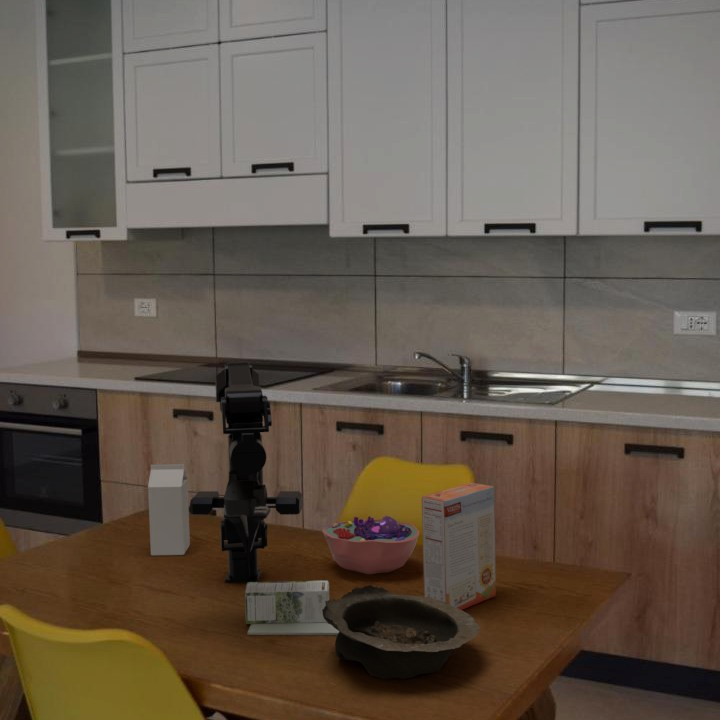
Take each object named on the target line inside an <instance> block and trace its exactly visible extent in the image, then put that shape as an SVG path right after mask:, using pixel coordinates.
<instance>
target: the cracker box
mask: <svg viewBox="0 0 720 720" xmlns="http://www.w3.org/2000/svg"><path fill="white" fill-rule="evenodd" d="M495 523H496V522H495V487H494V486H493V485H488V484H482V483H478V482H474V481H473V482H468V483H464V484H461V485H458V486H457V485H456V486H453V487H449V488H447V489H446V488H445V489H443V490H440V491H439V490H438V491H435V492H432V493H428V494H425V495H422V496H421V525H422V532H421V533H422V556H423V557H422V558H423V560H422V564H423V565H422V567H423V595H424V596H423V597H429V598H433V599H436V600H439V601H442V602H446V603H448V604H450V605H451V606H453V607H455V608H458V609H460V610H462V611H464V610H465V609H467V608H469V607H472V606H474V605H477V604H479V603H482V602H484V601H487V600H489V599H491V598H494V597H496V596H497V594H496V590H497V588H496V586H497V585H496V582H497V581H496V540H495V537H496V534H495V532H496V531H495V527H496V525H495Z"/></svg>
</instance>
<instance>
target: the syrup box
mask: <svg viewBox="0 0 720 720" xmlns="http://www.w3.org/2000/svg"><path fill="white" fill-rule="evenodd" d="M244 599H245V600H244V604H245V606H244V607H245V609H244V611H245V623H246V624H247V625H251V624H267V623H321V622H327V621H326V620H325V619H324V617H323V612H322V609H324V607H325V606H326V603H325V601H328V600H330V581H329V580H295V581H294V580H293V581H291V580H289V581H288V580H287V581H257V582H246V587H245V593H244Z"/></svg>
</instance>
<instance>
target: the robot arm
mask: <svg viewBox="0 0 720 720" xmlns="http://www.w3.org/2000/svg"><path fill="white" fill-rule="evenodd" d="M260 385H261V384H260V374H259V373H258V372H257V371H255V370H254V369H253V364H252V362H248V361H228V362H227V363H225V364H224V369H223V370H222V371H220V372H219V373H218V374H217V375H215V400H216V401H215V402H216V403H219V411H220V412H221V419H222V420H221V422H222V423H221V424H222V434H223V435H228V436H227V440H228V441H227V442H228V468H229V469H228V470H229V471H228V481H227V485H226V488H225V489H226V490H225V492H224V495H223V496H220V494H219V493H220V492H219V491H215V490H214V491H213V490H212V491H201V490H200V491H198V492H197V493H196V494H195V495H194V496H193V497H192V498H191V499H190V502H189V513H190V514H189V515H196V516H197V515H201V516H202V515H205V516H206V515H209V514H210V512H212V511H213V509H223V520H222V519H221V520H220V547H221V552H225V551H227V556H228V557H227V559H228V560H227V563H228V566H227V567H228V573H227V574H226V576H225V578H224V579H223V581H224V582H225V583H248V582H259V579H260V577H261V575H262V574H263V570H262V569H259V568H258V567H259V566H258V564H259V562H258V561H259V559H258V550H259V549H261V550H264V549H265V547H268V524H267V523H266V522H265V519H268V516H269V514H270V513H271V509H275V510H276V512H278V513H279V514H280V515H281V516H282V515H288V516H289V515H299V514H300V513H301V511H302V509H303V507H304V497H303V496H304V495H303V493H302V492H301V491H299V490H297V491H296V490H295V491H293V490H286V491H284V490H281V491H279V493H278V494H277V496H268V491H267V487H266V484H264V470H263V469H264V467H265V465H266V462H267V453H266V449H265V448H264V445H263V435H262V434H261V433H269V432H270V427H272V426H273V425H272V423H273V420H272V411H271V402H270V401H269V400H268V396H267V395H263V390H262V387H261V386H260Z"/></svg>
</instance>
